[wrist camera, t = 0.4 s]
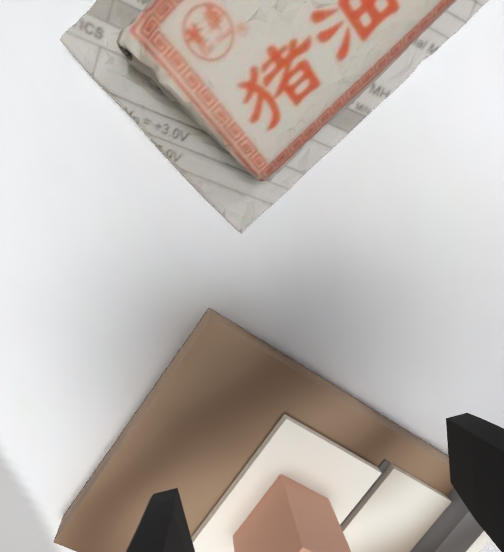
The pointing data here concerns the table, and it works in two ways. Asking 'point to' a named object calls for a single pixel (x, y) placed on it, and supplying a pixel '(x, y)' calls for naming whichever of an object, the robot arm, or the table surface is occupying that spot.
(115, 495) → the board
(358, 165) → the table surface
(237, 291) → the table surface
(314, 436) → the stub
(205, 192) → the packaged product
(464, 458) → the robot arm
